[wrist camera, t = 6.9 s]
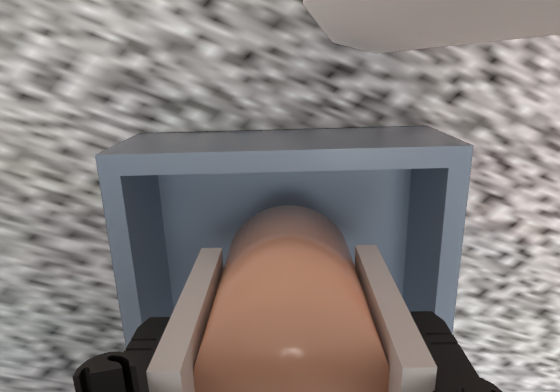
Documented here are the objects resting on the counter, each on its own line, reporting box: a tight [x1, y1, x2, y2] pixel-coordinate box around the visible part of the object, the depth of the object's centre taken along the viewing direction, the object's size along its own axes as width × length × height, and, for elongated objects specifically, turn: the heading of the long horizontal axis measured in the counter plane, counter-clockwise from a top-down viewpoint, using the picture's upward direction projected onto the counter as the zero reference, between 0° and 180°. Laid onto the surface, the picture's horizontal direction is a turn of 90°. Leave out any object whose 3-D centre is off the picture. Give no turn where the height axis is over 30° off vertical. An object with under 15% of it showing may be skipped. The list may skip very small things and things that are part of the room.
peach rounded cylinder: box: [193, 205, 390, 392], centre depth 14 cm, size 5×5×7 cm
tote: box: [95, 126, 473, 347], centre depth 20 cm, size 14×18×5 cm
